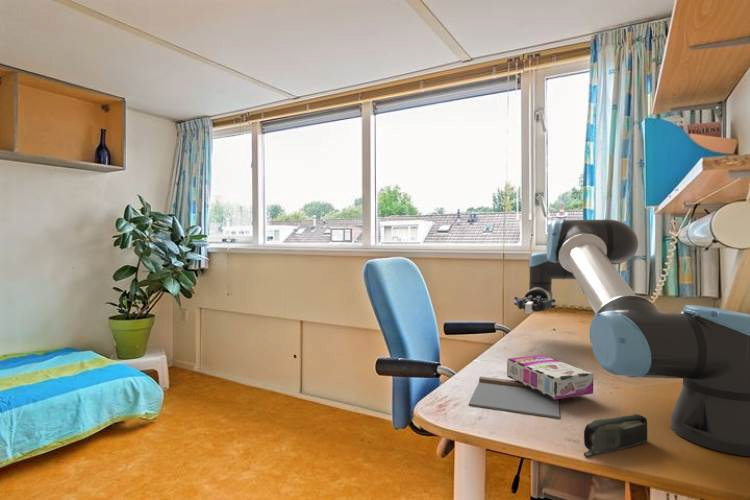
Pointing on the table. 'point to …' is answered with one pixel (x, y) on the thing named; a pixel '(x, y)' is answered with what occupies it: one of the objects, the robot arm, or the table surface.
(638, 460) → the table surface
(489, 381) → the strip
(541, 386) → the candy bar box
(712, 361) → the robot arm
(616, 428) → the mobile phone
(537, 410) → the mat
